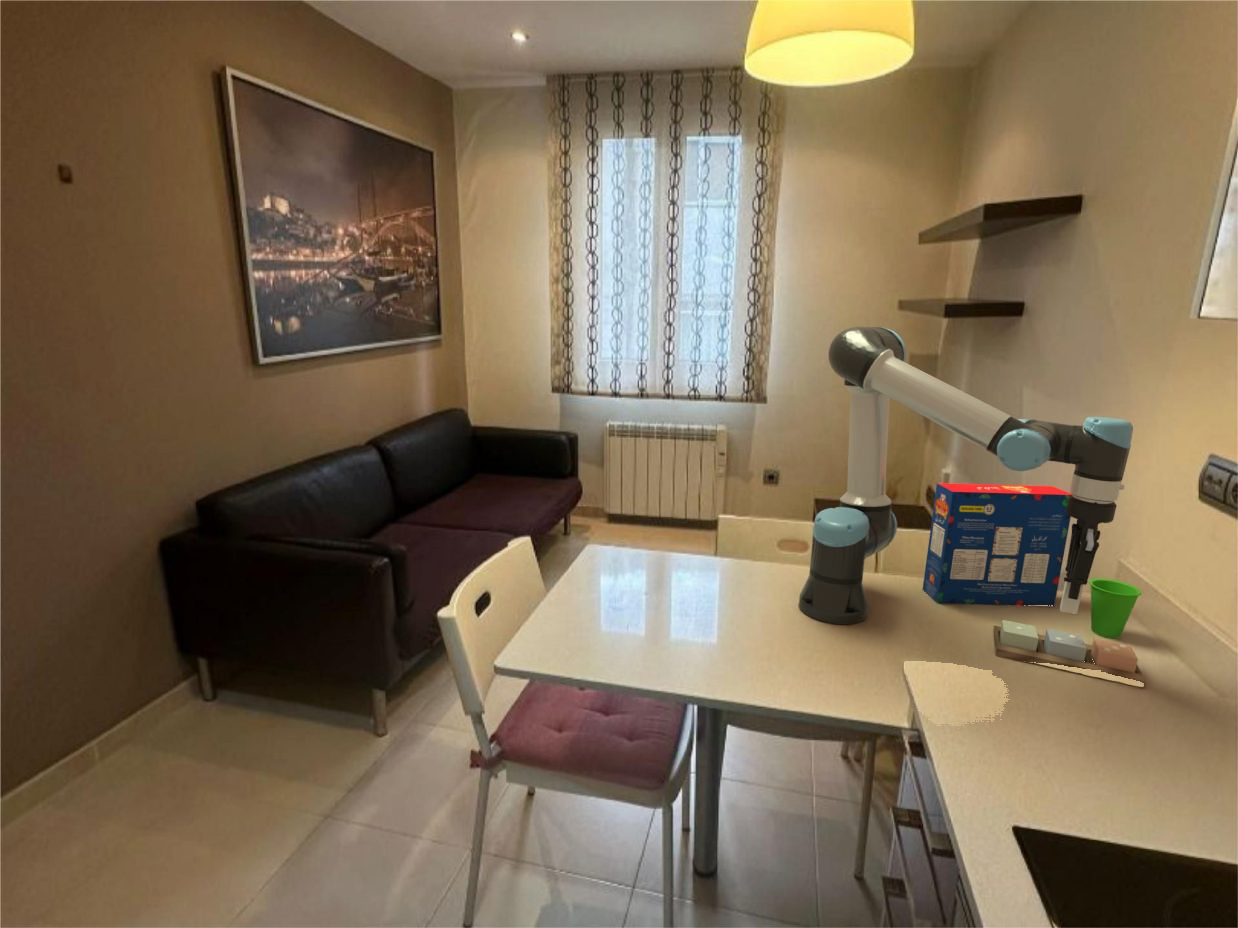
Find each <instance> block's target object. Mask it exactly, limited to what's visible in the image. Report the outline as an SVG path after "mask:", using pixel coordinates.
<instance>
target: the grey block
mask: <svg viewBox="0 0 1238 928" xmlns="http://www.w3.org/2000/svg"><path fill="white" fill-rule="evenodd" d="M1045 630H1046V631H1045V634H1044V635H1045V641H1044V649H1045V653H1046V654H1048V655H1053V656H1058V657H1062V658H1067V659H1072V660H1076V661H1081V662H1084V659H1085V654H1086V649H1087V648H1086V645H1085V644H1086V643H1085V640H1084V638H1083V636H1082V635H1079V634H1076V633H1069V632H1066V631H1060V630H1055V629H1052V628H1051V629H1050V628H1046V629H1045Z"/></svg>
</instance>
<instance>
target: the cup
mask: <svg viewBox="0 0 1238 928" xmlns="http://www.w3.org/2000/svg"><path fill="white" fill-rule="evenodd" d="M1088 584H1090V616H1091V617H1090V619H1091V620H1090V621H1091V623H1090V627H1091V631H1092V632H1093V633H1094V634H1096V635H1098V636H1100V637H1104V638H1108V639H1119V638H1120V637H1121V635H1122V634H1123V631H1124V629H1125V627H1126V625H1127V622H1128V620H1129V617H1130V616H1131V613H1132V611H1133V609H1134V606H1135V604H1136V602H1137V599H1138V598H1139V596H1141V595H1142V591H1141V590H1140V589H1139V588H1138V587H1136V586H1134V585H1131V583H1130V584H1129V583H1126V582H1123V581H1119V580H1115V579H1109V578H1093V579H1090V580H1089V582H1088Z"/></svg>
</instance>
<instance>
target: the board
mask: <svg viewBox="0 0 1238 928" xmlns="http://www.w3.org/2000/svg"><path fill="white" fill-rule="evenodd" d="M1000 631H1001V626H1000V625H996V624H994V625H993V640H994V650H995V656H996V657H1000V658H1005V659H1009V660H1013V661H1018V662H1019V661H1020V662H1023V661H1025V662H1024V663H1027V662H1033V663H1034V662H1036V663H1050V664H1057V665H1064V666H1068V667H1077V668H1082V669H1091V670H1101V672H1106V673H1108V674H1112V675H1115V676H1121V677H1124V678H1128V679H1133V680H1136V681H1140V682H1142V683H1144V684H1145V685H1146V679H1145V678H1144V676H1143V673H1142V672H1141V669H1140V668H1139V666H1138V664H1137V665H1136V670H1135V673H1132V672H1128V671H1123V670H1118V669H1114V668H1109V667H1104V666H1100V665H1095V664H1094V662H1093V660H1092V657H1091V655H1090V654H1091V649H1092V644H1088V643H1085V645H1086V648H1087V649H1086V654H1085V659H1084V661H1085V662H1081V661H1076V660H1072V659H1067V658H1062V657H1058V656H1053V655H1048V654H1046V653H1045V649H1044V641H1045V635H1046V634H1040V633H1037V635H1038V643H1037V649H1036V652H1034V651H1030V650H1025V649H1020V648H1016V647H1011V646H1006V645H1002V644H1000V638H999V637H1000Z"/></svg>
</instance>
